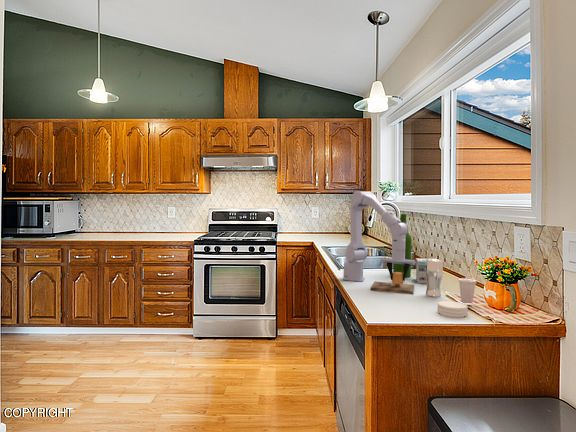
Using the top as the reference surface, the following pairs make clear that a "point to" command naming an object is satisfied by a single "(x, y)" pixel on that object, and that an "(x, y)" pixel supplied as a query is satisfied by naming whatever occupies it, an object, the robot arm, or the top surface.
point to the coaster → (452, 309)
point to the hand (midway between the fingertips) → (397, 279)
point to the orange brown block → (397, 278)
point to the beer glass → (433, 276)
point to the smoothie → (467, 289)
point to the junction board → (392, 287)
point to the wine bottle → (407, 252)
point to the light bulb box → (420, 270)
